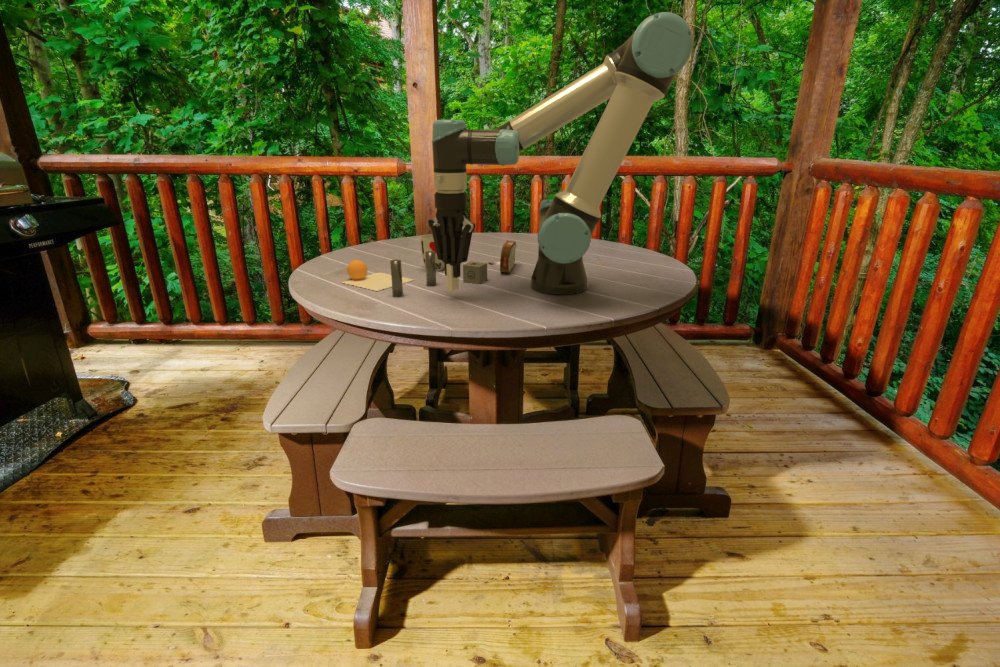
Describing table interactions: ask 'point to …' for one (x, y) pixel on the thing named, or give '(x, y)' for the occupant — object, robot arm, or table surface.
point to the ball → (357, 270)
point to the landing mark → (376, 281)
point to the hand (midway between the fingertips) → (453, 289)
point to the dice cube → (474, 272)
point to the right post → (430, 268)
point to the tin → (507, 256)
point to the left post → (396, 278)
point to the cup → (429, 245)
